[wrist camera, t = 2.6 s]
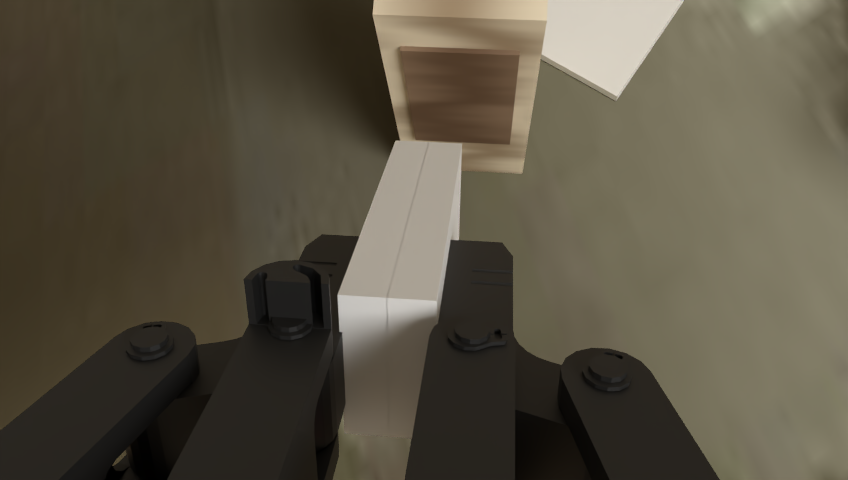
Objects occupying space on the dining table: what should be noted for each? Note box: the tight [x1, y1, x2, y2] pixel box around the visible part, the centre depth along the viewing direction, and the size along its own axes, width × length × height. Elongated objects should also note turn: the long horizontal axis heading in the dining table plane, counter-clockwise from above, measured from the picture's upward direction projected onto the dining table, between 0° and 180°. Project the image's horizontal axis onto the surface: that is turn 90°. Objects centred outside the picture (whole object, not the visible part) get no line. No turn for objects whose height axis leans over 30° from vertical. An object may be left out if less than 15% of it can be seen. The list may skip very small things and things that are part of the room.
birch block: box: [372, 0, 548, 174], centre depth 34 cm, size 6×6×14 cm
